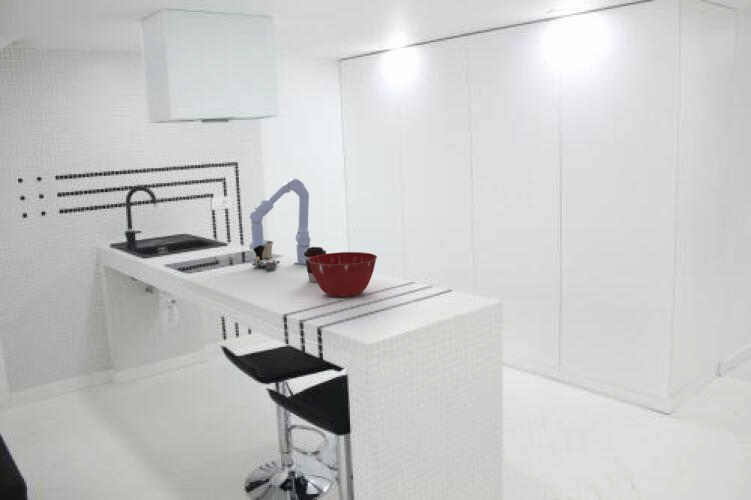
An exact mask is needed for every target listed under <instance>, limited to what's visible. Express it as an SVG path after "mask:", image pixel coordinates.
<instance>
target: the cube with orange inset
mask: <svg viewBox="0 0 751 500" xmlns="http://www.w3.org/2000/svg"><path fill="white" fill-rule="evenodd" d="M276 266H277V265H275V261H268V262H266V268H265V270H266V272H274V271H276V270H277V267H276Z"/></svg>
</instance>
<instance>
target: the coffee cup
mask: <svg viewBox="0 0 751 500" xmlns="http://www.w3.org/2000/svg"><path fill="white" fill-rule="evenodd" d="M322 254H327V250H324V248H323V247H320V246H314V247H312V248H308V249H307V251H306V252H304V256H306V264H305V265H306V272H307V277H308V281H309V282H311V283H317V281H316V279H315V277H314V275H313V272H312V270H311V267H310V264H309V262H308V259H309V258H311V257H314V256H317V255H322Z"/></svg>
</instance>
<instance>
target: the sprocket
mask: <svg viewBox="0 0 751 500" xmlns="http://www.w3.org/2000/svg"><path fill="white" fill-rule="evenodd" d="M255 257H256V259H255V260H254V262H252V264H251V265H252V266H253V267H254V266H256V268H260V267H261V268H263V267H264V266H266V262H268V261H275V265H276V266H278V264H280V260H276V259H262V260H261V261H260V256H256V255H255Z"/></svg>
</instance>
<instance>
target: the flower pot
mask: <svg viewBox="0 0 751 500" xmlns="http://www.w3.org/2000/svg"><path fill="white" fill-rule="evenodd" d="M273 245H274V241H272V240H267V244H265V245H262V246H265V249H264V251H263V254H262V260H266V259H271V258H272V253H273Z"/></svg>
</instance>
